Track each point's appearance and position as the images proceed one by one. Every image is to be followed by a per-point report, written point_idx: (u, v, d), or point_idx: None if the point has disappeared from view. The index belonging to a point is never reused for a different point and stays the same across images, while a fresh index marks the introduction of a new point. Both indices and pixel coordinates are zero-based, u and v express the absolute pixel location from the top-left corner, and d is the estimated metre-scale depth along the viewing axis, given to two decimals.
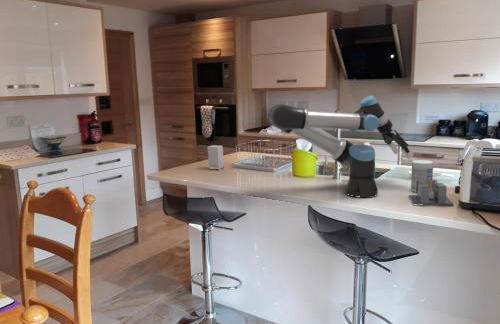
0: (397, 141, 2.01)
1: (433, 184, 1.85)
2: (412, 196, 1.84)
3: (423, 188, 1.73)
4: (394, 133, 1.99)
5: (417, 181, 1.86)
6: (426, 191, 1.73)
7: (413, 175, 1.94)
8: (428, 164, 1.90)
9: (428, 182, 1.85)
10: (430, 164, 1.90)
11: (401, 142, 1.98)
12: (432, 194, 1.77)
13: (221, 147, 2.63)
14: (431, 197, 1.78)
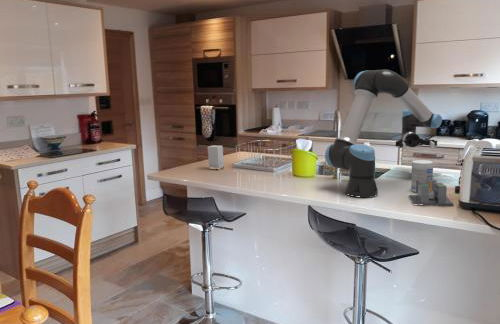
0: None
1: (433, 184, 1.85)
2: (412, 196, 1.84)
3: (423, 188, 1.73)
4: None
5: (417, 181, 1.86)
6: (426, 191, 1.73)
7: (413, 175, 1.94)
8: (428, 164, 1.90)
9: (428, 182, 1.85)
10: (430, 164, 1.90)
11: None
12: (432, 194, 1.77)
13: (221, 147, 2.63)
14: (431, 197, 1.78)
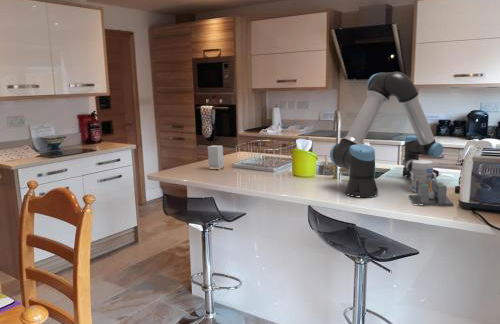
0: None
1: (433, 184, 1.85)
2: (412, 196, 1.84)
3: (423, 188, 1.73)
4: None
5: (417, 181, 1.86)
6: (426, 191, 1.73)
7: None
8: (428, 164, 1.90)
9: (428, 182, 1.85)
10: (430, 164, 1.90)
11: None
12: (432, 194, 1.77)
13: (221, 147, 2.63)
14: (431, 197, 1.78)
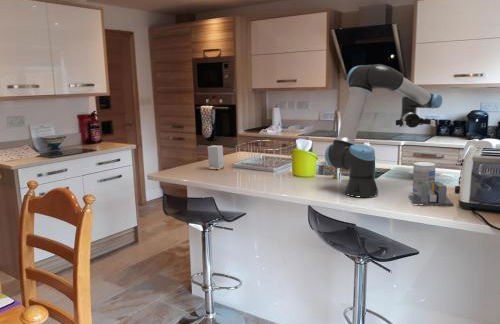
0: None
1: None
2: (412, 196, 1.84)
3: (423, 188, 1.73)
4: None
5: None
6: (426, 191, 1.73)
7: (415, 177, 1.89)
8: (430, 166, 1.85)
9: (430, 184, 1.81)
10: (432, 166, 1.85)
11: None
12: (434, 196, 1.73)
13: (221, 147, 2.63)
14: (433, 200, 1.74)
